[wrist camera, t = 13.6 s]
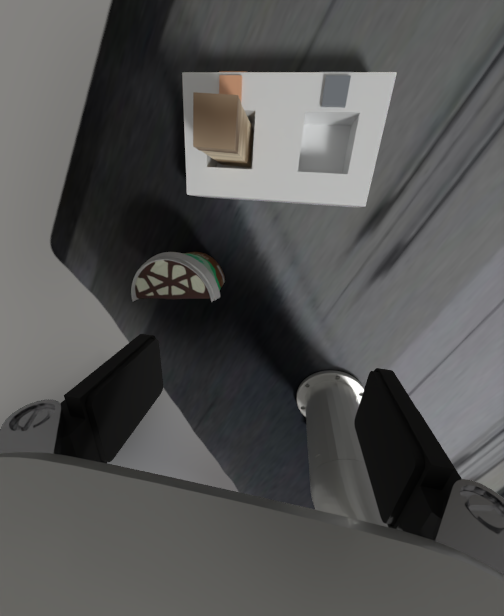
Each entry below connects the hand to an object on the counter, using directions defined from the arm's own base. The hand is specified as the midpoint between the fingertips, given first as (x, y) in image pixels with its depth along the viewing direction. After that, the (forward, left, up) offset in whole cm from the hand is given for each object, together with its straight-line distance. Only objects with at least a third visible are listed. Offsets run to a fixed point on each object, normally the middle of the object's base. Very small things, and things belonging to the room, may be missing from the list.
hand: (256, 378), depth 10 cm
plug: (+14, +8, -27) cm, 32 cm away
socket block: (+14, +2, -28) cm, 32 cm away
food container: (-2, +14, -28) cm, 32 cm away
